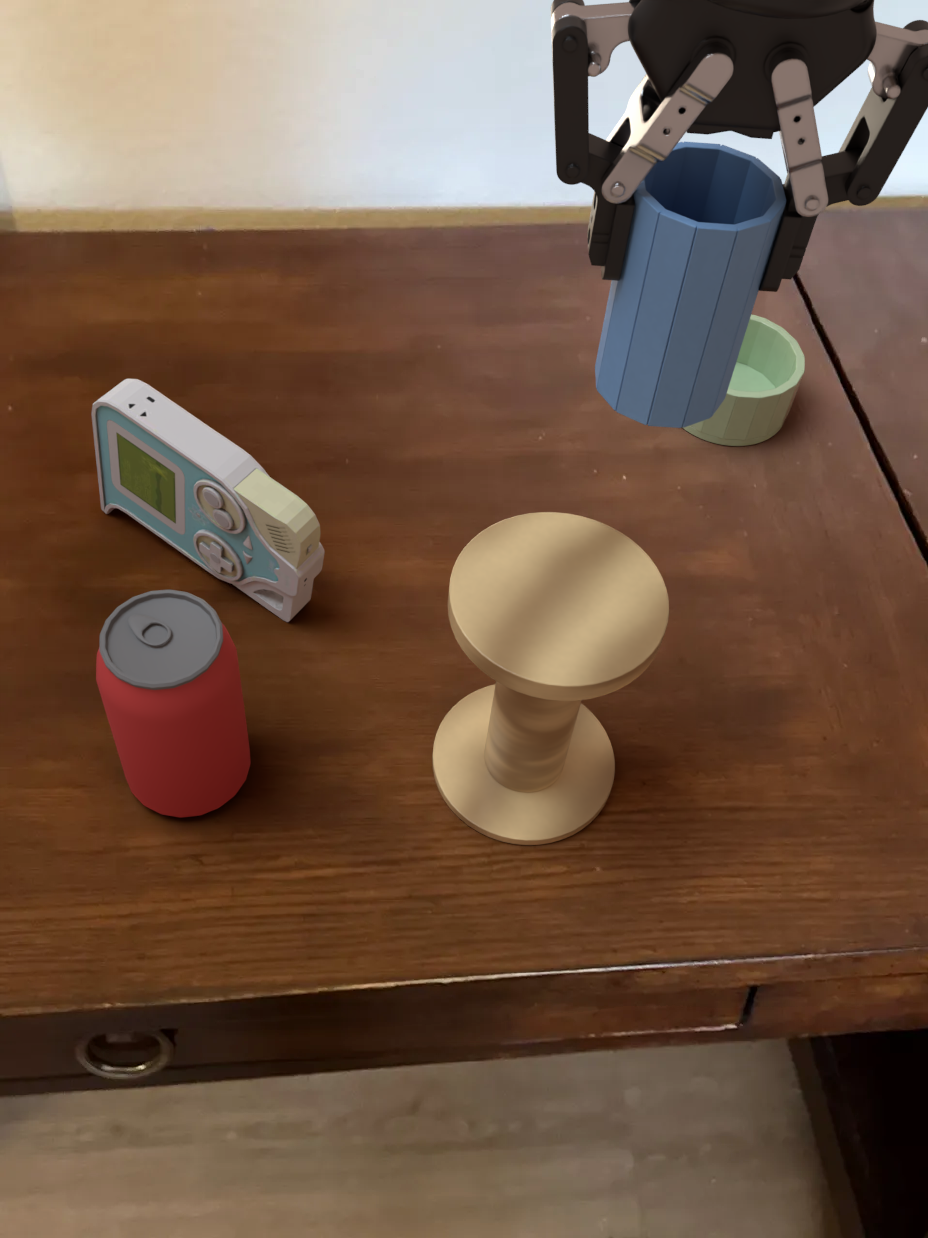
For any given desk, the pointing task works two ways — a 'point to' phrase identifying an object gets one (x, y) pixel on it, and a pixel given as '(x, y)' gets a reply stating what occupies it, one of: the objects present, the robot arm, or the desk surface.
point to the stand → (543, 671)
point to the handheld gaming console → (205, 497)
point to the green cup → (757, 388)
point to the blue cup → (687, 284)
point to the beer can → (174, 702)
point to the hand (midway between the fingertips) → (687, 272)
